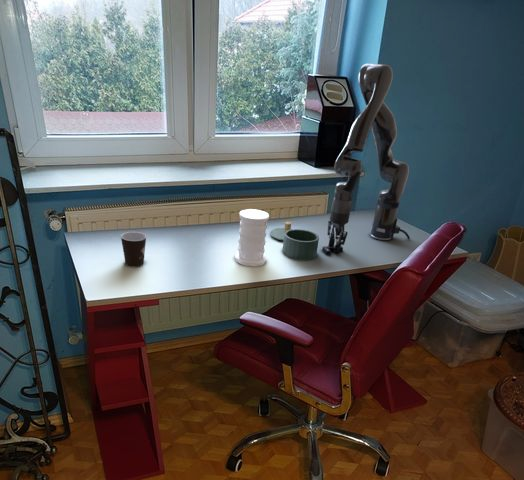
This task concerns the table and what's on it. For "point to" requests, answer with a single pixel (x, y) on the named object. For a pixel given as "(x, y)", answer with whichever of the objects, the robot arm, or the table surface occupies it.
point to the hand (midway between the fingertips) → (333, 250)
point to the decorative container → (252, 237)
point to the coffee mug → (133, 248)
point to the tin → (300, 244)
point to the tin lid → (280, 231)
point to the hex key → (330, 249)
